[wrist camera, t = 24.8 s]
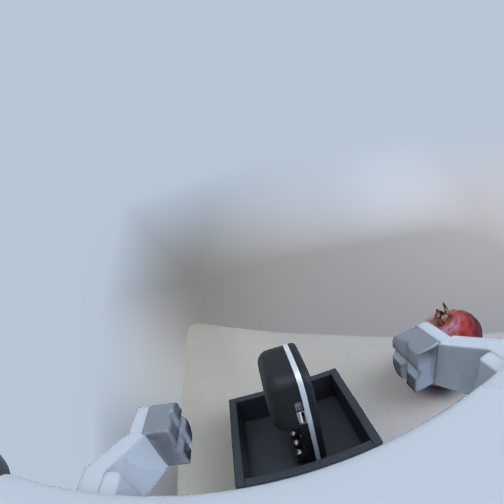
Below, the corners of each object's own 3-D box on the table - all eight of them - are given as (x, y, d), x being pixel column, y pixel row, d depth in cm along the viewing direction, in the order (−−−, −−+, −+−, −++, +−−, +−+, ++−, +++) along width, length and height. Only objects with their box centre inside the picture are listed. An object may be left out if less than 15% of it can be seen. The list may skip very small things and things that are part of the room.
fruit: (482, 351, 26) (489, 282, 24) (471, 404, 20) (487, 327, 18) (422, 347, 33) (421, 282, 31) (400, 394, 27) (400, 322, 25)
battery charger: (277, 426, 28) (250, 345, 26) (310, 416, 28) (291, 334, 26) (289, 472, 21) (260, 392, 19) (328, 460, 21) (312, 376, 19)
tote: (249, 505, 18) (235, 487, 17) (239, 422, 31) (228, 399, 30) (381, 464, 19) (382, 441, 18) (338, 392, 31) (335, 367, 30)
